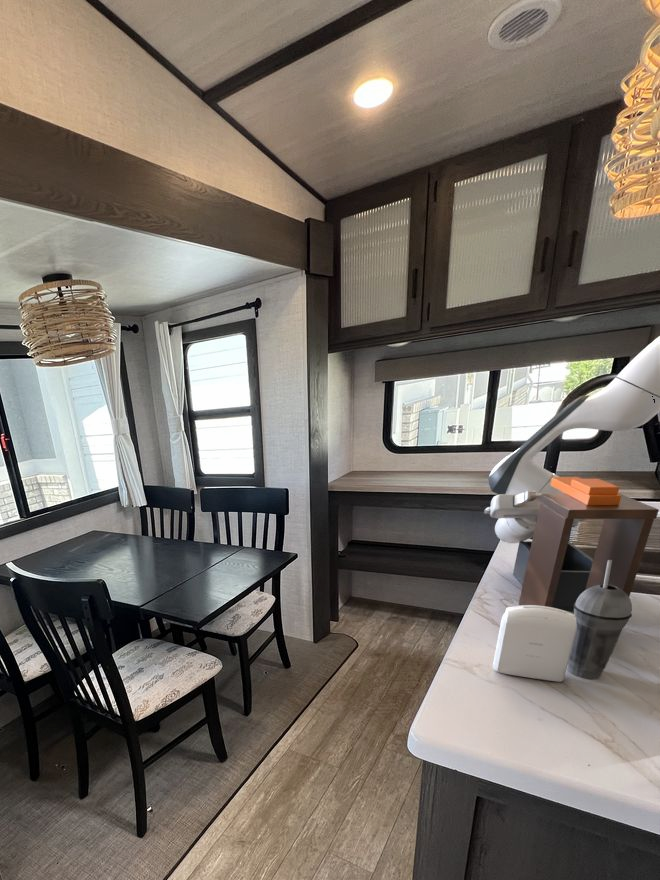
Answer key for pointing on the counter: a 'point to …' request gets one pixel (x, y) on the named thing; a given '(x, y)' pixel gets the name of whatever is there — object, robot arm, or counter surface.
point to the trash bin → (570, 576)
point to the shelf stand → (616, 543)
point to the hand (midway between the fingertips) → (558, 493)
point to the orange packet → (588, 490)
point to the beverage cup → (598, 627)
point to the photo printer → (535, 642)
